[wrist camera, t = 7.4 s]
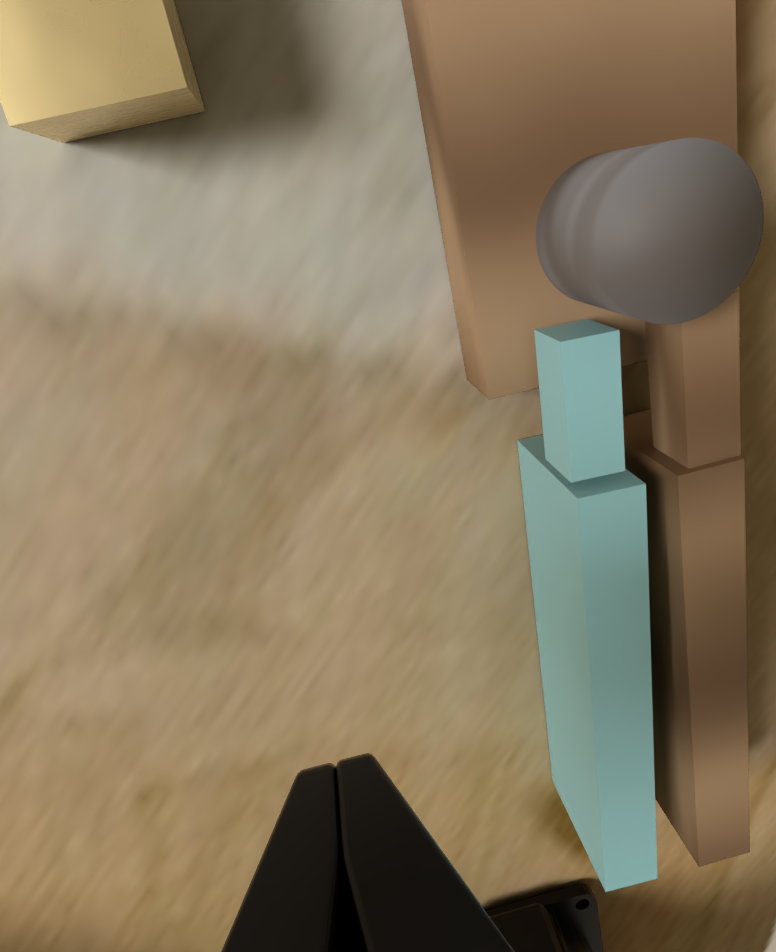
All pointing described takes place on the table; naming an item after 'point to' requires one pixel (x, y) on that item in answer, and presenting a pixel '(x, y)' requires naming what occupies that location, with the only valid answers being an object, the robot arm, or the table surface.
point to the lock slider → (93, 66)
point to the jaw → (592, 600)
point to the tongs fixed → (619, 302)
